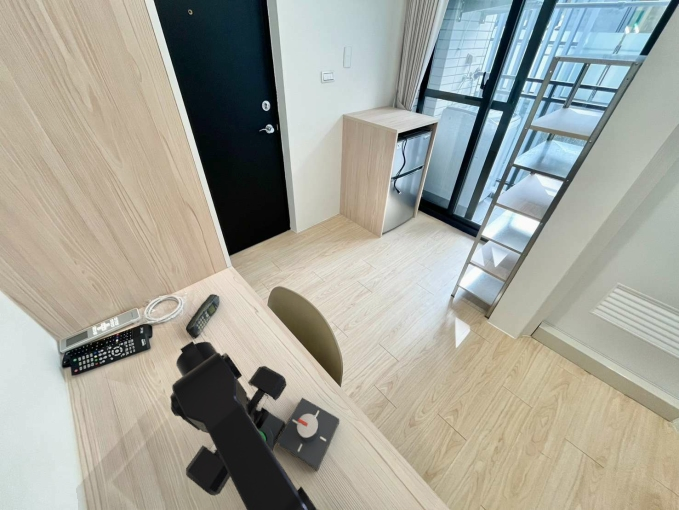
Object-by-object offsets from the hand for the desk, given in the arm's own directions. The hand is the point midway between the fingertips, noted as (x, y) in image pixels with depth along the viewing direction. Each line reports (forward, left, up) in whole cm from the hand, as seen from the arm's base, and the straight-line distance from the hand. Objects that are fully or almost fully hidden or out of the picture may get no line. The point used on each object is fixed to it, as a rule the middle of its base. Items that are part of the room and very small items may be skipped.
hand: (252, 433), depth 52 cm
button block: (+1, +3, -11) cm, 11 cm away
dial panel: (+7, -8, -11) cm, 15 cm away
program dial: (+7, -8, -8) cm, 13 cm away
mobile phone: (+19, +37, -11) cm, 43 cm away
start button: (0, +1, -7) cm, 7 cm away
